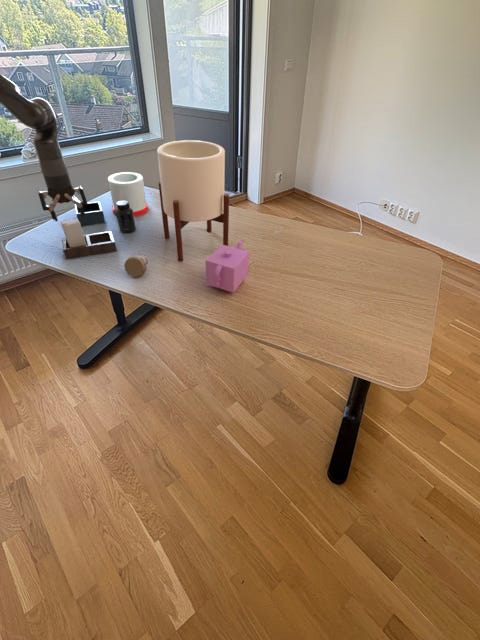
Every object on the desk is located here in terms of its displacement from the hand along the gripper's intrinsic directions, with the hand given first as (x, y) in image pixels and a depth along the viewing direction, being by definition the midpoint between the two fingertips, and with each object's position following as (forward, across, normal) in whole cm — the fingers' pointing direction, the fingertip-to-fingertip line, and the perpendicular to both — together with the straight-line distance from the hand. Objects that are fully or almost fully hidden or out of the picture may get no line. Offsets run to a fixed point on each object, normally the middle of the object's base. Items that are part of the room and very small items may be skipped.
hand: (69, 218), depth 123 cm
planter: (+14, -43, +10) cm, 46 cm away
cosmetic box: (+13, 0, 0) cm, 13 cm away
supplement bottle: (+14, -20, -11) cm, 26 cm away
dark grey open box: (+13, -7, -26) cm, 30 cm away
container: (+14, -25, -31) cm, 42 cm away
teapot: (+14, -46, +38) cm, 61 cm away
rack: (+13, -4, 0) cm, 14 cm away
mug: (+13, -18, +21) cm, 31 cm away
